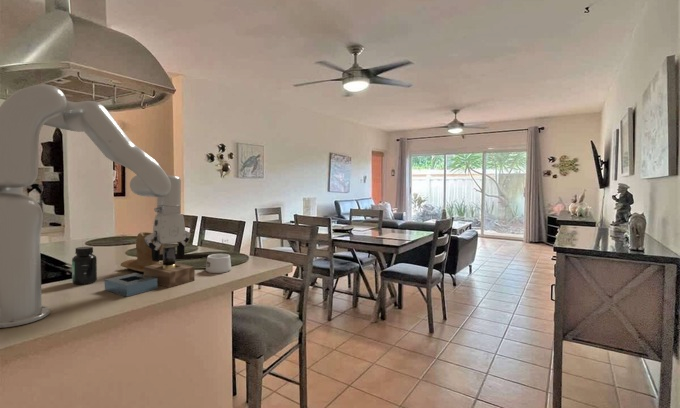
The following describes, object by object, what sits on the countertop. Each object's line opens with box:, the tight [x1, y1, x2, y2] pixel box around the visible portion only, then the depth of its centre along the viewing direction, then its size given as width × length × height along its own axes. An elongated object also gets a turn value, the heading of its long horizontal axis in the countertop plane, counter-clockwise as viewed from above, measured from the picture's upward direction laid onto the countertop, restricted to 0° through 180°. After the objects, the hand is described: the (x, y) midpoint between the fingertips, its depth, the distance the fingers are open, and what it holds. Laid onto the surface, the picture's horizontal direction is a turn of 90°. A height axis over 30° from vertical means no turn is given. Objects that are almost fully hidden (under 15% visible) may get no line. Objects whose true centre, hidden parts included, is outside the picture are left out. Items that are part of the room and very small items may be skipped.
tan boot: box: [120, 231, 165, 273], centre depth 139 cm, size 15×12×15 cm
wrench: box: [159, 253, 213, 262], centre depth 155 cm, size 5×5×30 cm
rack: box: [143, 262, 196, 288], centre depth 126 cm, size 10×14×5 cm
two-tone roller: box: [162, 245, 176, 269], centre depth 125 cm, size 4×4×12 cm
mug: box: [205, 253, 232, 274], centre depth 142 cm, size 12×10×6 cm
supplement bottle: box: [71, 246, 98, 286], centre depth 120 cm, size 7×7×12 cm
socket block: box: [104, 272, 158, 298], centre depth 115 cm, size 10×12×4 cm
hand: (168, 258), depth 125 cm, fingers open, 9 cm apart
